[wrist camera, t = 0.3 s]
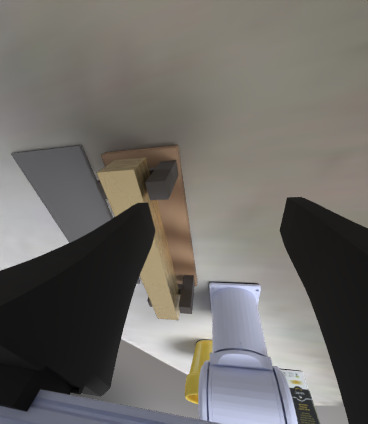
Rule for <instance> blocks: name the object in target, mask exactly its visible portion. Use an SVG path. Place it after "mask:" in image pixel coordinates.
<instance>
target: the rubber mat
mask: <svg viewBox="0 0 368 424" xmlns="http://www.w3.org/2000/svg"><path fill="white" fill-rule="evenodd" d="M11 155H12V156H13V158H14V159H15V161H16V162H17V164H18V165H19V167H20V168H21V170H22V172H23V173H24V175H25V176H26V178H27V179H28V181H29V182H30V184H31V185H32V187H33V188H34V190H35V191H36V193H37V194H38V196H39V197H40V199H41V200H42V202H43V203H44V205H45V206H46V208H47V209H48V211H49V212H50V214H51V215H52V217H53V219H54V220H55V222H56V223H57V225H58V226H59V228H60V229H61V231H62V232H63V234H64V235H65V237H66V238H67V240H68V241H69V243H71V242H73V241H75V240H77V239H79V238H81V237H82V236H84V235H86V234H88V233H90V232H91V231H93V230H95V229H96V228H98V227H100V226H101V225H103V224H105V223H106V222H108V221H110V220H111V219H113V217H112V215H111V213H110V210H109V208H108V206H107V203H106V201H105V199H103V197H102V195H101V193H100V190H99V188H98V186H97V184H96V182H97V180H96V178H95V175H94V173H93V171H92V169H91V166H90V164H89V162H88V159H87V157H86V155H85V152H84V150H83V148H82V145H78V146H69V147H61V148H52V149H43V150H34V151H26V152H17V153H12V154H11ZM136 284H140V280H139V278H138V281H137V283H136Z"/></svg>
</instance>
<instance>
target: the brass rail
mask: <svg viewBox="0 0 368 424" xmlns="http://www.w3.org/2000/svg"><path fill="white" fill-rule="evenodd" d="M97 175H98V177H99V179H100V182H101V184H102V187H103V189H104V191H105V194H106V196H107V198H108V201H109V203H110V206H111V208H112V210H113V213H114V215H115V217H116V216H117V215H119V214H120V213H122V212H123V211H125V210H126V209H128V208H130V207H131V206H133V205H135V204H137V203H145V202H148V204H149V207H150V211H151V215H152V219H153V223H154V226H155V230H156V231H155V236H154V240H153V243H152V247H151V249H150V252H149V254H148V257H147V259H146V261H145V264H144V266H143V269H142V271H141V273H140V277H141V280H142V282H143V284H144V287H145V289H146V291H147V294H148V296H149V299H150V301H151V303H152V306H153V308H154V311H155V313H156V315H157V318H159V319H171V320H178V318H179V312H180V310H179V301H180V292H179V288H178V284H177V280H176V275H175V271H174V267H173V263H172V259H171V255H170V251H169V247H168V243H167V238H166V234H165V230H164V226H163V222H162V218H161V214H160V210H159V206H158V201H157V200H150V199H149V195H148V192H147V188H146V184H145V182H146V180H147V179H148V178H149V176H150V175H151V173H150V169H149V164H148V160H147V157H143V158H132V159H121V160H114V161H113V162H111V163H110V164H109V165H107V166H106V167H104V168H103V169H101V170H100V171H98V172H97Z"/></svg>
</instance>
